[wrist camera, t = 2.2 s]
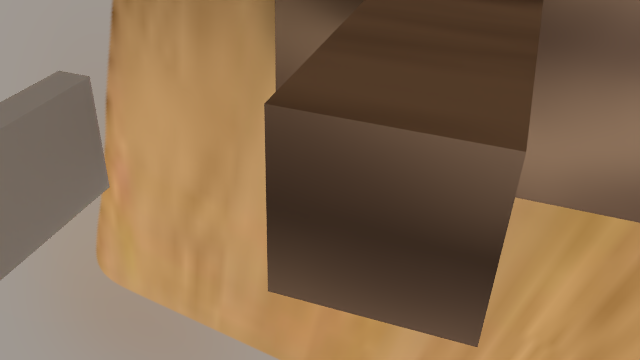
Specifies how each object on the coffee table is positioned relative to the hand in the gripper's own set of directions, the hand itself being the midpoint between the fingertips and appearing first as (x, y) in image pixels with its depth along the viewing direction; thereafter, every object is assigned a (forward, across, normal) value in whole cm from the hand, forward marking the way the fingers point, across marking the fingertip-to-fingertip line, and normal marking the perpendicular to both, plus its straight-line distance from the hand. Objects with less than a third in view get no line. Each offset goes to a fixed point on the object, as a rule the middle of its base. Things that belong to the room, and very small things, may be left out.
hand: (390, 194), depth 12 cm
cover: (+24, 0, 0) cm, 24 cm away
